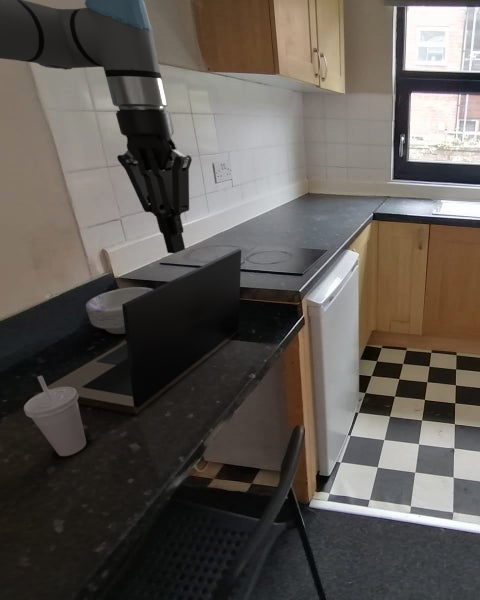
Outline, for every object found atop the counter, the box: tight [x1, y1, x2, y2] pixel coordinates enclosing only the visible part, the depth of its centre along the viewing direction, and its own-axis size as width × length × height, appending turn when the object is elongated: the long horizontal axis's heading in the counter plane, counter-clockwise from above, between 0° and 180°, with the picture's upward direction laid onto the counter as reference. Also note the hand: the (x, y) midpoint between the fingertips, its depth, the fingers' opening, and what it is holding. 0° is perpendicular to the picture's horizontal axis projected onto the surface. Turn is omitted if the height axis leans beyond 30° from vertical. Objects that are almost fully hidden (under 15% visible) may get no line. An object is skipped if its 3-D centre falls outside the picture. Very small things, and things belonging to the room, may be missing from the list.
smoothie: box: [23, 375, 87, 457], centre depth 62 cm, size 6×6×14 cm
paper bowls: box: [85, 286, 154, 335], centre depth 102 cm, size 15×15×8 cm
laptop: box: [41, 331, 237, 415], centre depth 87 cm, size 21×30×2 cm
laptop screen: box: [122, 248, 242, 408], centre depth 80 cm, size 21×30×1 cm
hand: (176, 250), depth 74 cm, fingers closed
